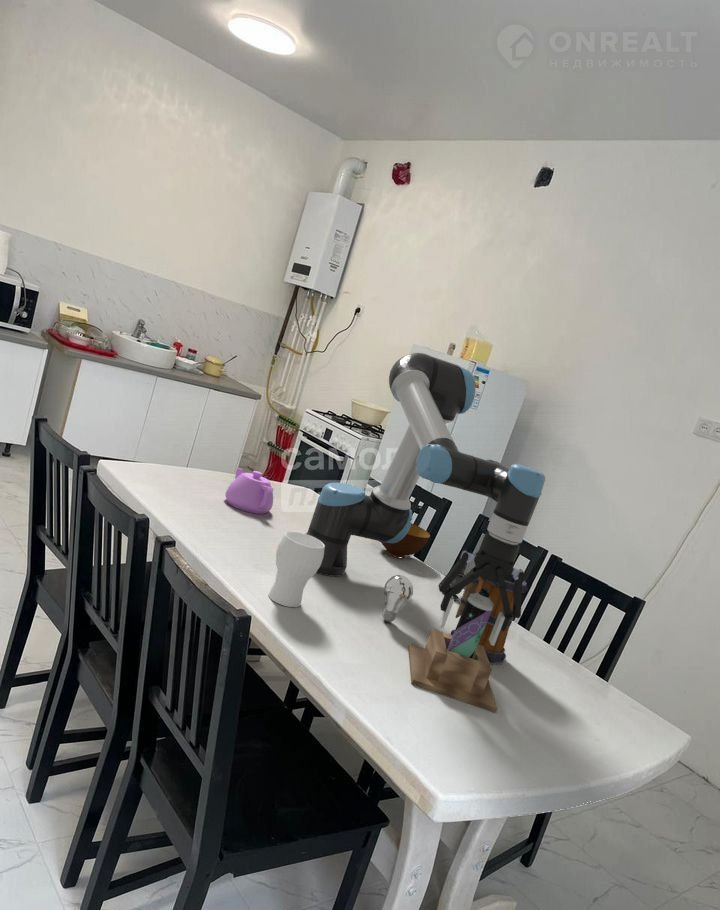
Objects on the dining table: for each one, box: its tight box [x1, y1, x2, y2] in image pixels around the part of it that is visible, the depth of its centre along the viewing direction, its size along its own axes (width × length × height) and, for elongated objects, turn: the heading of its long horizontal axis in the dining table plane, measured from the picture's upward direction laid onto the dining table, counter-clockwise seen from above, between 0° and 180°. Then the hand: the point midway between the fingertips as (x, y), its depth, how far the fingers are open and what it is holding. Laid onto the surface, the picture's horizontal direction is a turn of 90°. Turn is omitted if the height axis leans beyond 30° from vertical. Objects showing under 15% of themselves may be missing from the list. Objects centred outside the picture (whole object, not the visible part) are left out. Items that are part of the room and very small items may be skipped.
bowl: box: [380, 522, 431, 558], centre depth 228 cm, size 18×18×10 cm
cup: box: [268, 530, 325, 608], centre depth 158 cm, size 11×11×15 cm
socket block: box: [407, 628, 499, 714], centre depth 147 cm, size 18×18×7 cm
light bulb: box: [381, 574, 414, 624], centre depth 166 cm, size 7×7×12 cm
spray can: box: [447, 587, 494, 659], centre depth 146 cm, size 6×6×20 cm
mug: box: [450, 573, 529, 666], centre depth 170 cm, size 19×14×20 cm
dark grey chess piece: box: [441, 563, 468, 601], centre depth 204 cm, size 6×6×12 cm
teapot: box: [225, 467, 274, 515], centre depth 224 cm, size 22×16×12 cm
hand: (466, 634), depth 146 cm, fingers open, 10 cm apart
